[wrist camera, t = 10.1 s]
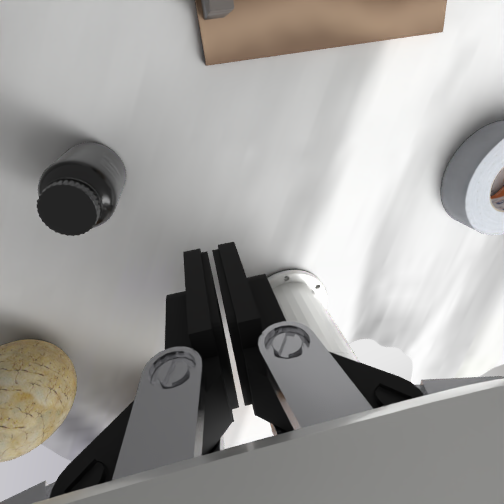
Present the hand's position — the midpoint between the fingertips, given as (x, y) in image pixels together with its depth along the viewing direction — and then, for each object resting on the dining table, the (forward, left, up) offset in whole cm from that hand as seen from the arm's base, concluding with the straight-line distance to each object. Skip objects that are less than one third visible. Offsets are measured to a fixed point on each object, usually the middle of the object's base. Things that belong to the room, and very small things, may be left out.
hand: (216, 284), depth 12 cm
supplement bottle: (-3, +11, -32) cm, 34 cm away
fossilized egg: (-27, +27, -32) cm, 50 cm away
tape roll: (-13, -42, -33) cm, 55 cm away
